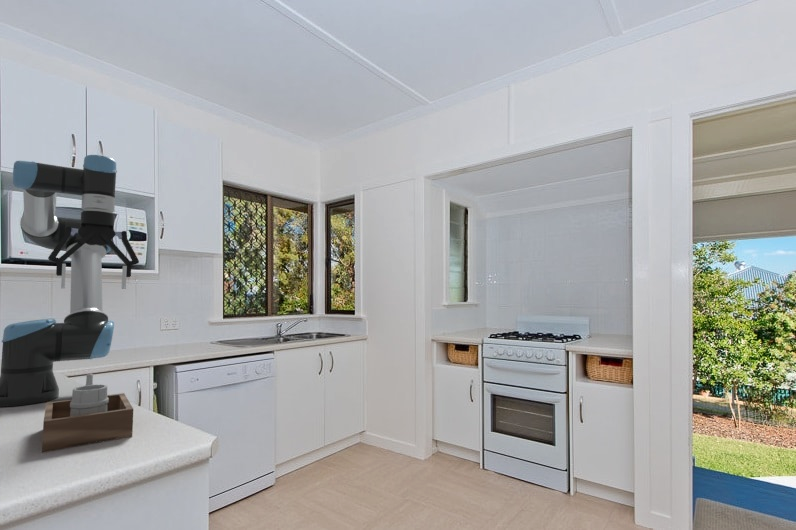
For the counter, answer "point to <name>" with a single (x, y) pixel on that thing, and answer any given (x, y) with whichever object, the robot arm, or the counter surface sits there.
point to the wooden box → (86, 424)
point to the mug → (89, 398)
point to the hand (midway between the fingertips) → (94, 288)
